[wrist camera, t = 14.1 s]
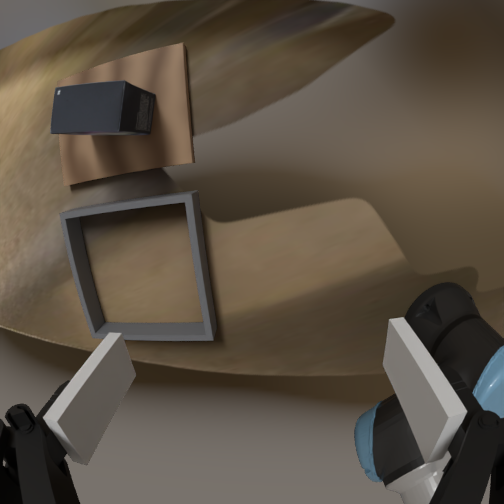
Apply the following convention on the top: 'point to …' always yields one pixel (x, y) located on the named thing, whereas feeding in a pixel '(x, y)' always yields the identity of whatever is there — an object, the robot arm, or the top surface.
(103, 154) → the walnut board
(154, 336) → the bin
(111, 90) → the small box
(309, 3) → the top surface
